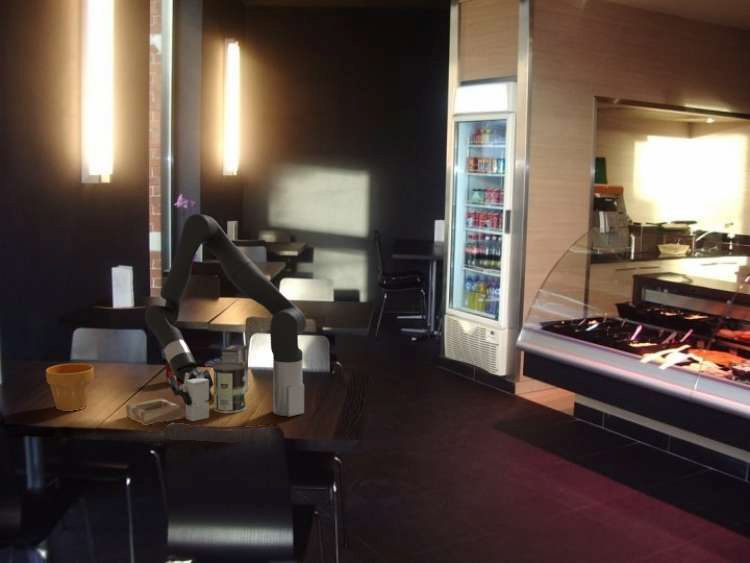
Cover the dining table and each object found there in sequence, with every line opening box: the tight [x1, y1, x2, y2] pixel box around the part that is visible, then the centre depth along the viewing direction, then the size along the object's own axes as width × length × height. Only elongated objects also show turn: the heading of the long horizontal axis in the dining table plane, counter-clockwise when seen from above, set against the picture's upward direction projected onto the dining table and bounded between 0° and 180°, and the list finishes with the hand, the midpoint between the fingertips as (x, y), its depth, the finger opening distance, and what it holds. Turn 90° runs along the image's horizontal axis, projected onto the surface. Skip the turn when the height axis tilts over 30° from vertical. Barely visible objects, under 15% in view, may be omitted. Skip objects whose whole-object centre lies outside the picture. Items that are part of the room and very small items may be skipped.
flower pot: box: [45, 362, 95, 410], centre depth 257 cm, size 14×14×13 cm
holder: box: [125, 397, 182, 424], centre depth 249 cm, size 12×12×4 cm
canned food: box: [165, 357, 181, 386], centre depth 291 cm, size 8×8×11 cm
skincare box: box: [185, 377, 210, 422], centre depth 249 cm, size 6×4×12 cm
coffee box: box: [220, 344, 249, 393], centre depth 278 cm, size 9×6×16 cm
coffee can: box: [212, 362, 247, 414], centre depth 259 cm, size 10×10×14 cm
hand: (200, 402), depth 248 cm, fingers open, 6 cm apart
